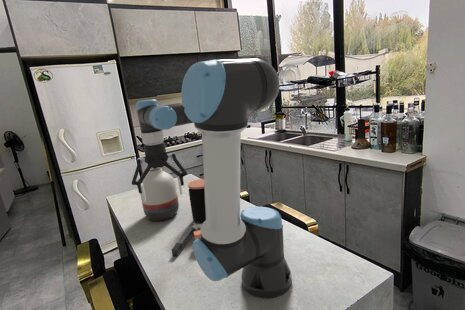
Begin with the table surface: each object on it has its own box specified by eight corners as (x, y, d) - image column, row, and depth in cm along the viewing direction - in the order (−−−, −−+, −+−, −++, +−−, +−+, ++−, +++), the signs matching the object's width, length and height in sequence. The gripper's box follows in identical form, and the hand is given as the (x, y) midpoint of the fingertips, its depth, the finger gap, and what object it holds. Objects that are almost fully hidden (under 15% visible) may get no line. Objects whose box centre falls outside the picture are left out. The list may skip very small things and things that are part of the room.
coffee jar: (212, 225, 123) (207, 187, 119) (189, 225, 125) (184, 187, 121) (218, 214, 133) (214, 178, 129) (197, 214, 135) (192, 179, 131)
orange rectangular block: (210, 238, 106) (209, 231, 106) (195, 242, 105) (194, 235, 104) (209, 234, 109) (208, 228, 108) (194, 238, 108) (193, 231, 107)
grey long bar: (184, 256, 102) (183, 249, 101) (172, 255, 103) (171, 248, 102) (203, 228, 121) (202, 221, 120) (193, 228, 122) (192, 221, 121)
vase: (154, 227, 127) (145, 178, 121) (139, 216, 139) (130, 171, 133) (186, 213, 137) (179, 167, 131) (169, 204, 150) (162, 162, 144)
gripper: (186, 136, 108) (194, 187, 114) (118, 146, 102) (129, 200, 108) (189, 139, 101) (197, 194, 106) (116, 150, 95) (128, 207, 101)
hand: (163, 197), depth 107 cm, fingers open, 13 cm apart
